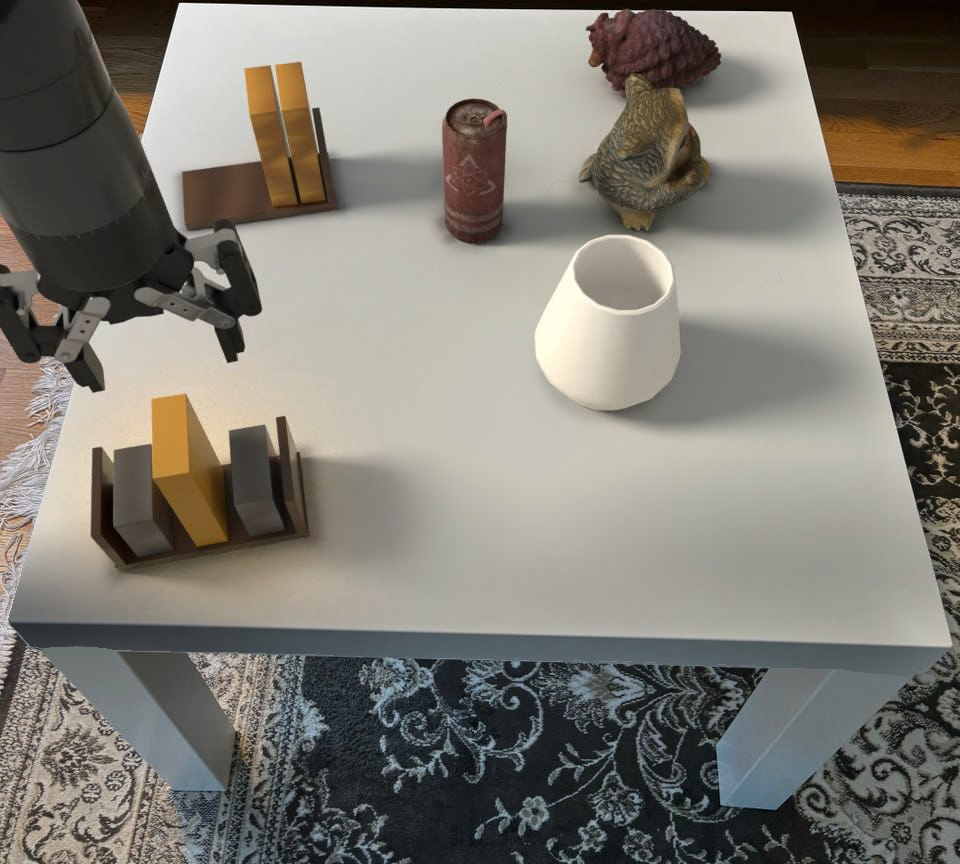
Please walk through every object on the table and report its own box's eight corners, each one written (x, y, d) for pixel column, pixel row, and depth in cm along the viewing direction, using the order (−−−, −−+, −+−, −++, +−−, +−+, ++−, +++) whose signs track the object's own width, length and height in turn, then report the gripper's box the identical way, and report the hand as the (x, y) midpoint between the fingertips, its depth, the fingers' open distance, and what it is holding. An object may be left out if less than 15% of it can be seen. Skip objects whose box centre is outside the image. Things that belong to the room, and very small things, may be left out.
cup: (542, 305, 89) (554, 202, 77) (676, 326, 88) (709, 225, 76) (520, 416, 82) (529, 322, 70) (665, 441, 81) (699, 350, 69)
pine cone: (696, 44, 111) (745, 4, 101) (697, 122, 110) (746, 90, 101) (566, 21, 105) (604, -23, 96) (567, 104, 105) (605, 68, 95)
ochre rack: (186, 230, 94) (148, 131, 82) (184, 178, 98) (147, 76, 87) (338, 209, 95) (320, 109, 84) (329, 158, 99) (311, 56, 88)
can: (515, 231, 94) (522, 123, 82) (463, 253, 92) (462, 147, 80) (485, 195, 97) (488, 86, 85) (434, 217, 95) (430, 108, 83)
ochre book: (196, 546, 74) (152, 478, 64) (193, 474, 77) (151, 398, 67) (228, 541, 74) (189, 472, 64) (223, 469, 78) (186, 393, 67)
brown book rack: (118, 572, 74) (87, 537, 68) (118, 488, 78) (89, 448, 72) (311, 536, 76) (297, 499, 70) (301, 456, 80) (287, 415, 74)
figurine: (721, 248, 93) (761, 133, 80) (582, 246, 93) (600, 131, 80) (704, 155, 100) (738, 35, 88) (575, 153, 100) (591, 33, 87)
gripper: (206, 103, 47) (265, 300, 61) (-78, 152, 45) (50, 345, 59) (225, 201, 43) (283, 388, 57) (-84, 260, 41) (55, 439, 55)
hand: (165, 366), depth 58 cm, fingers open, 8 cm apart
